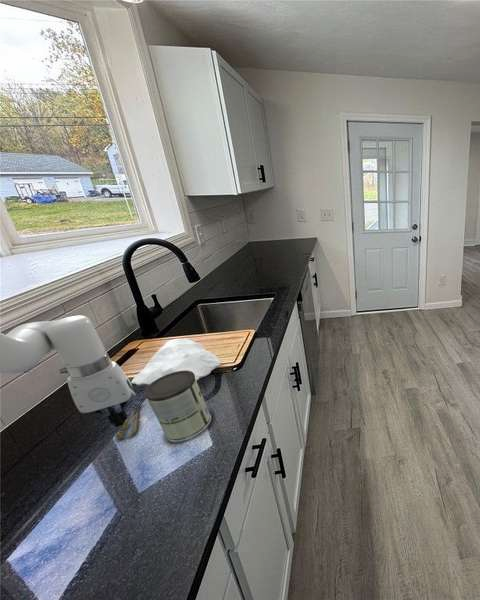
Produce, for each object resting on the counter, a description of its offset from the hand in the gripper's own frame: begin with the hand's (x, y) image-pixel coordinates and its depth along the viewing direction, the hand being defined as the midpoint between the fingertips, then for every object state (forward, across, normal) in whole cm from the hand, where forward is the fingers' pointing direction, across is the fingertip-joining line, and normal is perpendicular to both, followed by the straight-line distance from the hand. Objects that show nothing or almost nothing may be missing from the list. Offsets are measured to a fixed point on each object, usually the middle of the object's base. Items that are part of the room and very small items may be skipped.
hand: (121, 422), depth 83 cm
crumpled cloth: (+1, +12, +18) cm, 22 cm away
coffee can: (+1, +16, -11) cm, 20 cm away
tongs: (+1, +2, 0) cm, 2 cm away
